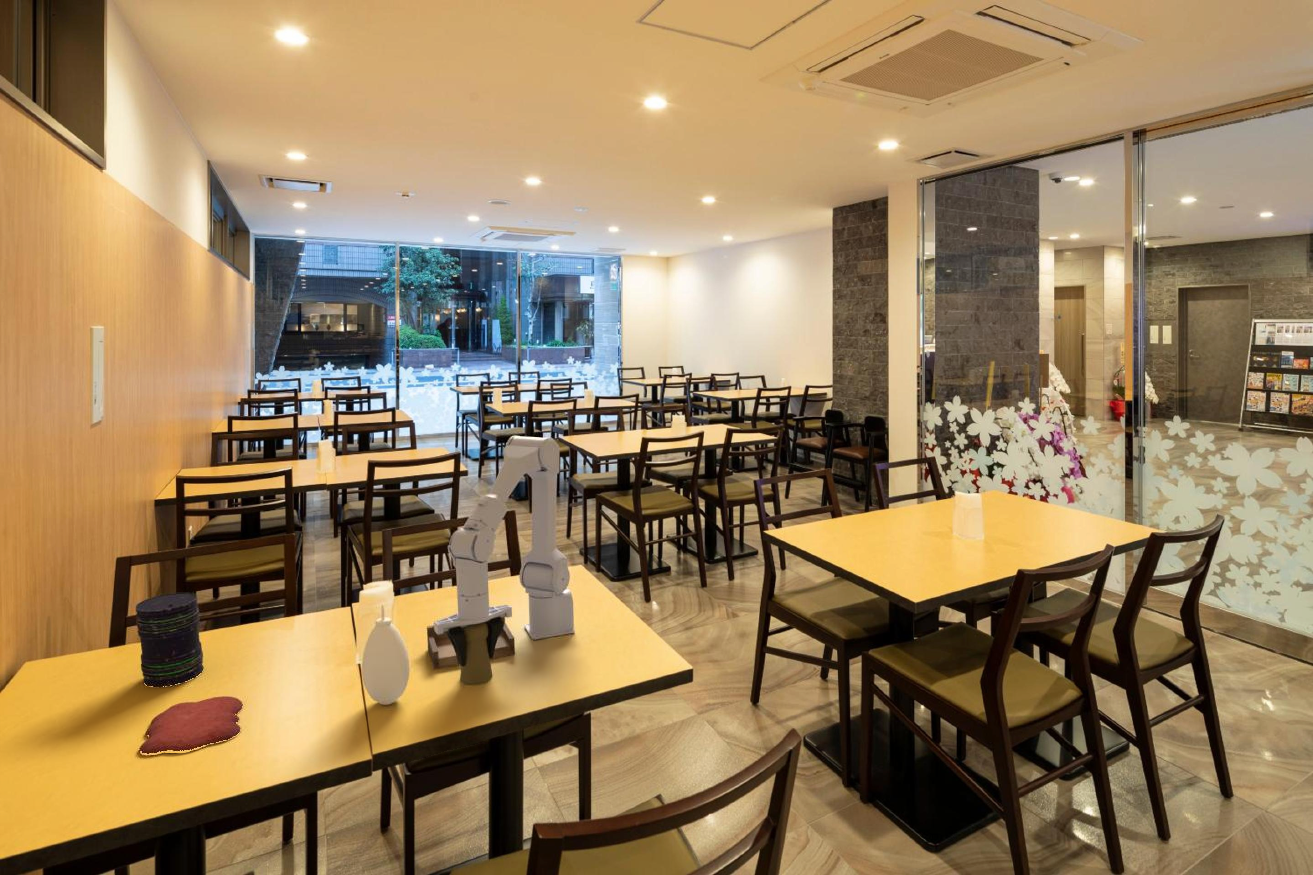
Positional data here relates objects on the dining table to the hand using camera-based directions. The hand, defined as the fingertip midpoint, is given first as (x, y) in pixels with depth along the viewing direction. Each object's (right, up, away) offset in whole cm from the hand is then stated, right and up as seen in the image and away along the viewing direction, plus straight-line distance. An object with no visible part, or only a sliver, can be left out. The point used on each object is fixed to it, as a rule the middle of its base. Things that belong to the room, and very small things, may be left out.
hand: (475, 660), depth 135 cm
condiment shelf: (-4, -2, +12) cm, 13 cm away
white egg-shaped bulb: (-13, -5, -9) cm, 17 cm away
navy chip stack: (-59, -4, +2) cm, 59 cm away
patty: (-43, -7, -16) cm, 46 cm away
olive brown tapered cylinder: (0, -4, 0) cm, 4 cm away
